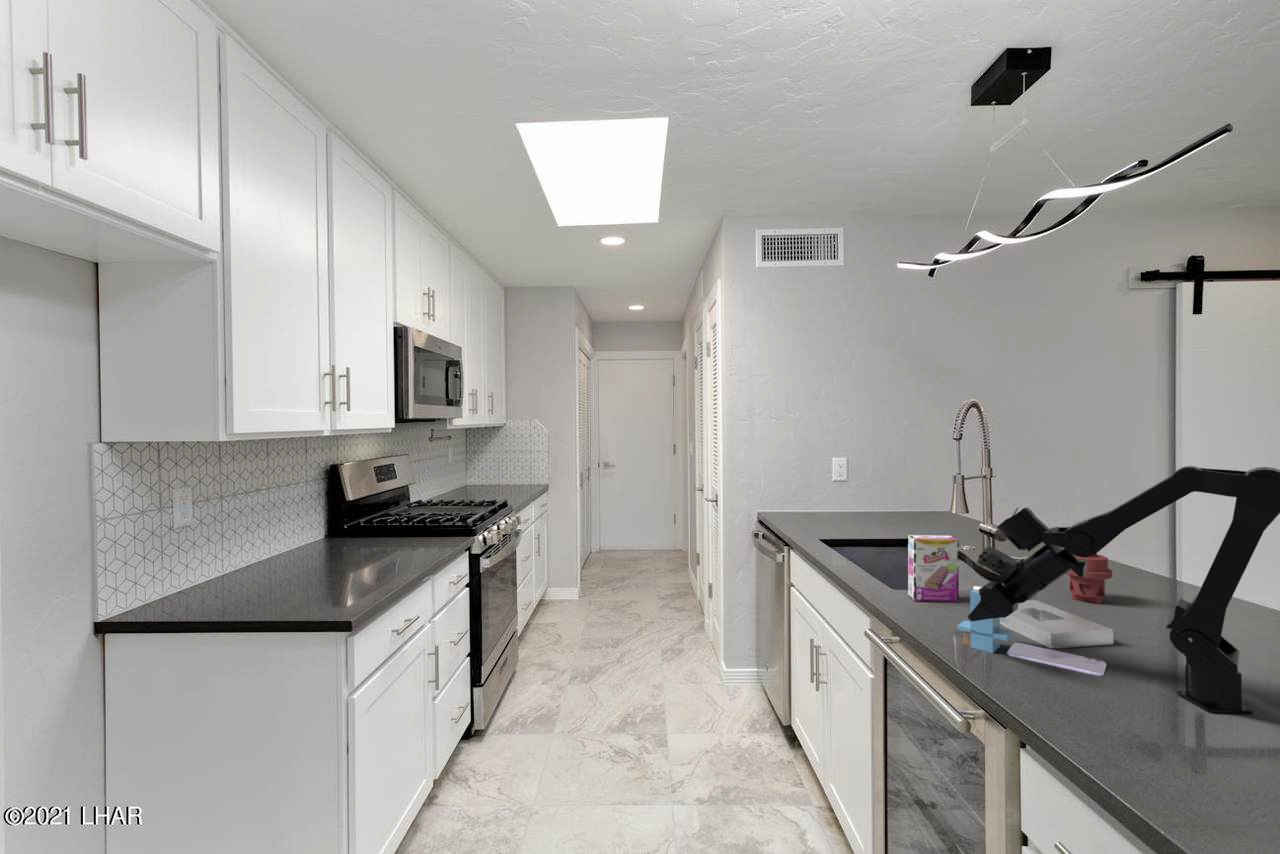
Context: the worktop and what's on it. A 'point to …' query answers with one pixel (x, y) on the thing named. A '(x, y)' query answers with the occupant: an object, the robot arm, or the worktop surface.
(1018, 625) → the plate
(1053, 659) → the mobile phone
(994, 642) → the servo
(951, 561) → the candy bar box
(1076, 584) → the mechanical component
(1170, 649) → the worktop surface
